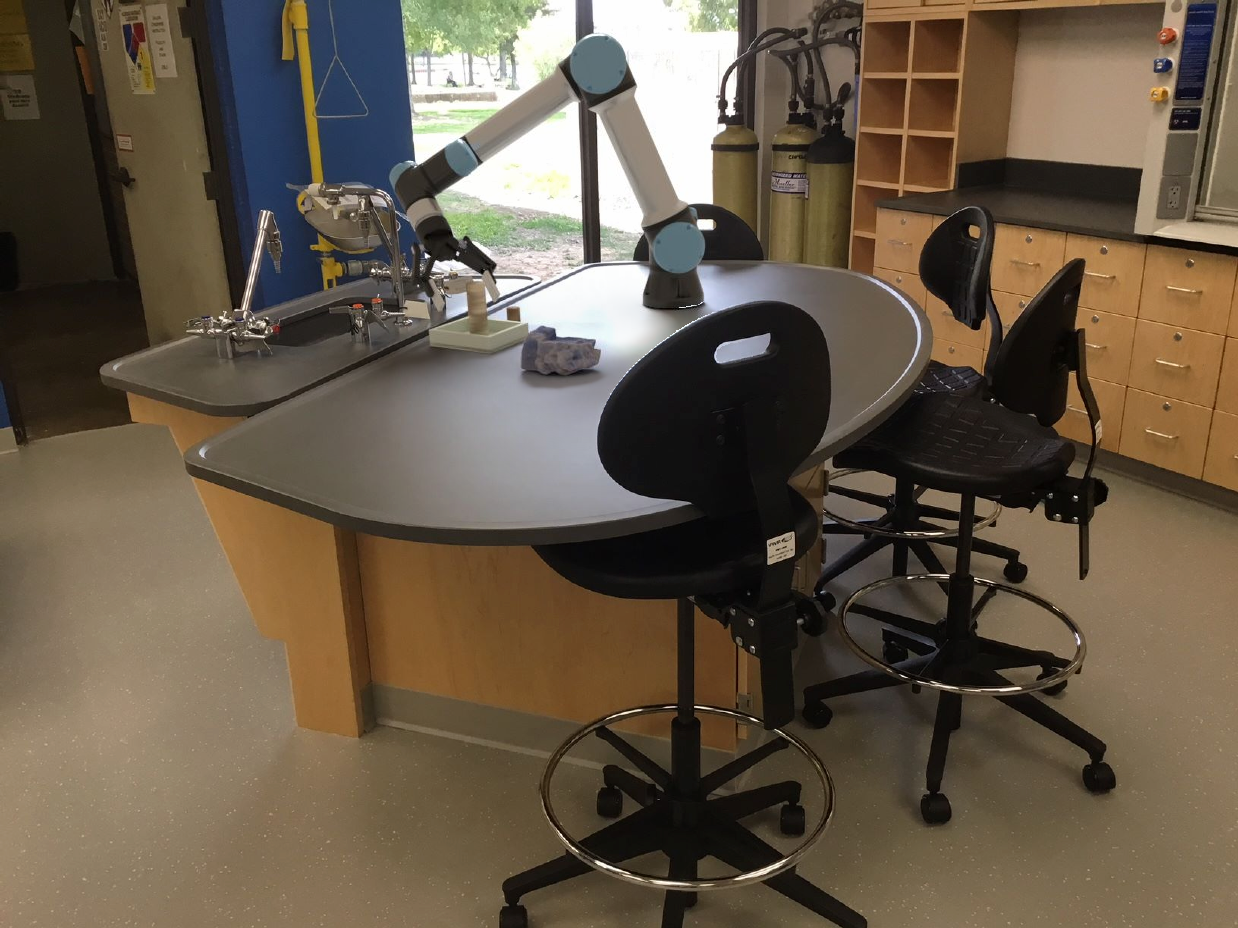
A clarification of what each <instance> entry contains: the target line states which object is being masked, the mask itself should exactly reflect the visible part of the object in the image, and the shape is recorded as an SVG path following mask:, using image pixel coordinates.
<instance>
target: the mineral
mask: <svg viewBox="0 0 1238 928" xmlns="http://www.w3.org/2000/svg"><path fill="white" fill-rule="evenodd" d="M596 343H597V340H596V339H595V338H583V337H579V336H578V337H577V336H575V337H574V336H557V330H556V328H555V327H549V326H545V325H540V326H538V327H537V328H535V329H534V330H530V331H529V334H528V335H527V338H526V339H525V340H524V341H523V345H522V349H521V356H520V368H521V369H522V370H526V371H527V370H528V371H536V372H538V373H540V374H542V375H549V374H551V373H556V374H559V375H561V376H568V375H571V374H573V373H575V372H578V371H580V370H583V369H584V370H587V369H591V368H593V367H596V366H597V365H598V364H600V363H599V362H600V359H601V355H602V349H600V348H595V346H596Z"/></svg>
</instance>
